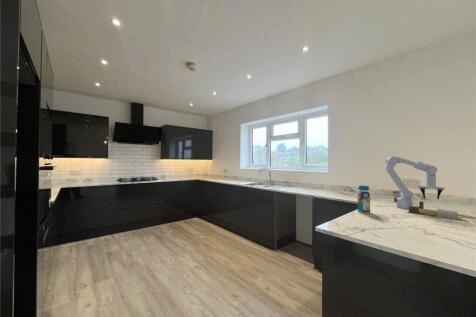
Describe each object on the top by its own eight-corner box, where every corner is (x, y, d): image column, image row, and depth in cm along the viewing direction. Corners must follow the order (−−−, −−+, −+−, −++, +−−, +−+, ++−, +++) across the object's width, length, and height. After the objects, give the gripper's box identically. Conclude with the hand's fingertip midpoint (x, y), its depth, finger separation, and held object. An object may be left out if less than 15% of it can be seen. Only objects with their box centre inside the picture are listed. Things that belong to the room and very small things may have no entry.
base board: (406, 214, 147) (406, 212, 147) (409, 211, 155) (409, 210, 155) (460, 222, 128) (460, 220, 128) (460, 218, 136) (460, 217, 136)
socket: (409, 212, 148) (409, 206, 148) (410, 211, 153) (410, 205, 153) (418, 213, 145) (418, 207, 145) (419, 212, 149) (419, 206, 149)
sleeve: (437, 216, 138) (437, 210, 138) (438, 215, 141) (438, 209, 141) (457, 219, 131) (457, 212, 131) (457, 218, 134) (457, 211, 134)
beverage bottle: (358, 210, 160) (358, 185, 160) (371, 211, 155) (370, 185, 155) (356, 212, 153) (356, 186, 154) (369, 214, 148) (369, 186, 148)
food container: (407, 201, 192) (407, 191, 193) (409, 203, 187) (408, 192, 187) (391, 200, 199) (391, 190, 199) (392, 201, 193) (392, 191, 194)
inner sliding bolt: (412, 211, 148) (412, 201, 148) (413, 210, 150) (413, 200, 150) (444, 215, 136) (443, 204, 136) (444, 215, 138) (444, 203, 138)
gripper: (417, 180, 159) (417, 197, 159) (443, 182, 148) (444, 200, 148) (418, 180, 164) (419, 196, 163) (444, 181, 153) (444, 199, 153)
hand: (431, 198), depth 156 cm, fingers open, 7 cm apart
